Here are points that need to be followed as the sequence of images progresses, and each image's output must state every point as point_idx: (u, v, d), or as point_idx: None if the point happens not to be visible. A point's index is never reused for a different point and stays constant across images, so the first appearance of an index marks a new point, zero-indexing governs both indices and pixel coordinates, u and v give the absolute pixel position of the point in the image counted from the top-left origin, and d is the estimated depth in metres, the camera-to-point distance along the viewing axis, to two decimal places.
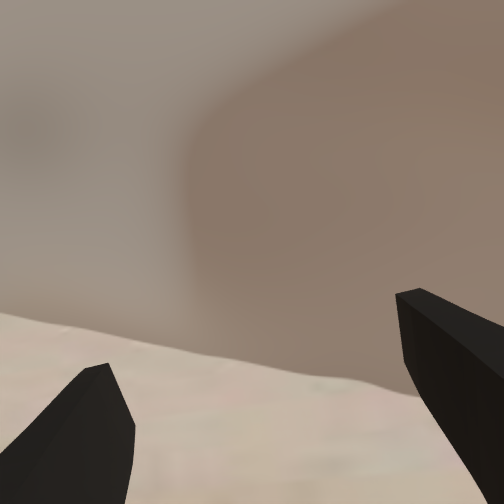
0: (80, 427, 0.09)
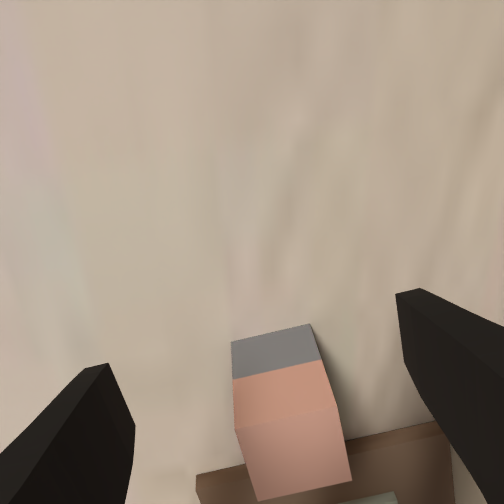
0: (80, 427, 0.09)
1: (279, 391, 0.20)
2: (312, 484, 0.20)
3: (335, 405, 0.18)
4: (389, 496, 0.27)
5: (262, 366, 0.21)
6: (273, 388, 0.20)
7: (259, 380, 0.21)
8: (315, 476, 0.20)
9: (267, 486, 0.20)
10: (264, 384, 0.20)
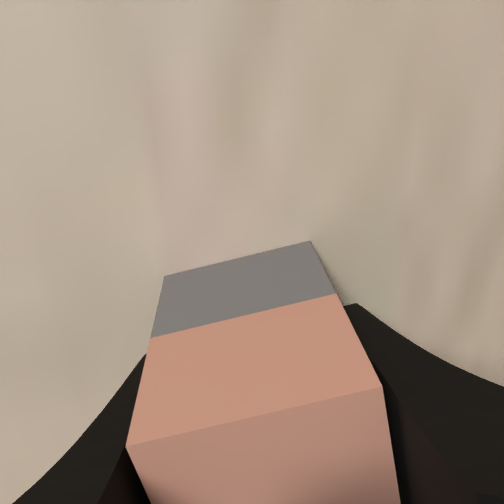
0: None
1: (243, 357, 0.09)
2: None
3: (377, 385, 0.07)
4: None
5: (215, 312, 0.10)
6: (231, 351, 0.09)
7: (204, 337, 0.10)
8: None
9: None
10: (212, 344, 0.09)
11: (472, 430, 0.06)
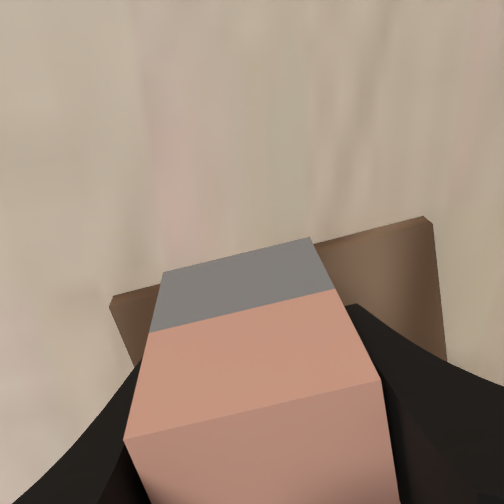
0: None
1: (242, 351, 0.09)
2: None
3: (376, 378, 0.07)
4: None
5: (214, 307, 0.10)
6: (229, 346, 0.09)
7: (202, 332, 0.10)
8: None
9: None
10: (210, 338, 0.09)
11: (472, 430, 0.06)
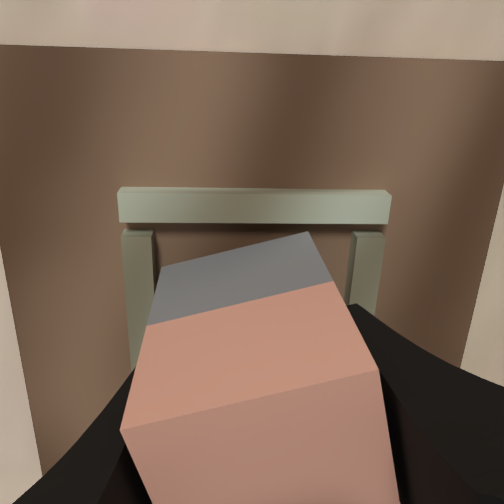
0: None
1: (239, 343, 0.09)
2: None
3: (374, 368, 0.07)
4: (376, 192, 0.13)
5: (211, 300, 0.10)
6: (227, 338, 0.09)
7: (200, 324, 0.10)
8: None
9: None
10: (208, 330, 0.09)
11: (471, 430, 0.06)
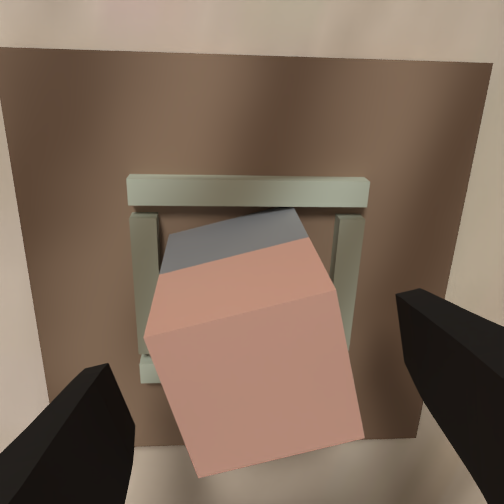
0: (80, 427, 0.09)
1: (233, 280, 0.11)
2: (294, 445, 0.11)
3: (333, 289, 0.10)
4: (357, 179, 0.15)
5: (211, 254, 0.13)
6: (223, 278, 0.11)
7: (202, 271, 0.12)
8: (299, 430, 0.11)
9: (213, 449, 0.11)
10: (208, 274, 0.12)
11: None
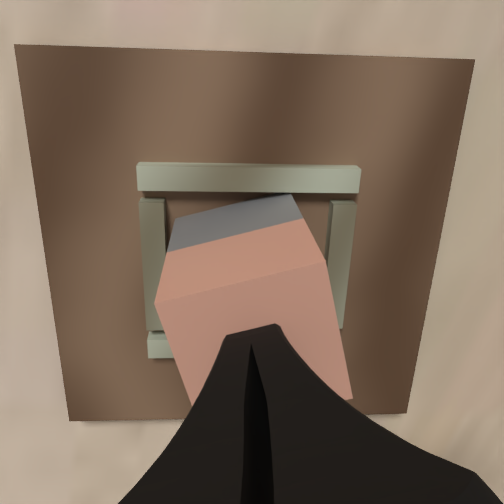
0: (252, 386, 0.09)
1: (234, 256, 0.12)
2: None
3: (322, 260, 0.11)
4: (349, 166, 0.16)
5: (214, 235, 0.14)
6: (225, 254, 0.13)
7: (206, 248, 0.13)
8: None
9: None
10: (212, 251, 0.13)
11: (315, 467, 0.06)
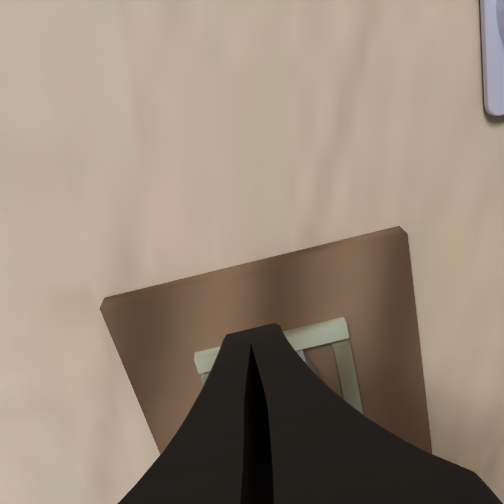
0: (252, 386, 0.09)
1: None
2: None
3: None
4: (338, 321, 0.22)
5: None
6: None
7: None
8: None
9: None
10: None
11: (315, 467, 0.06)
